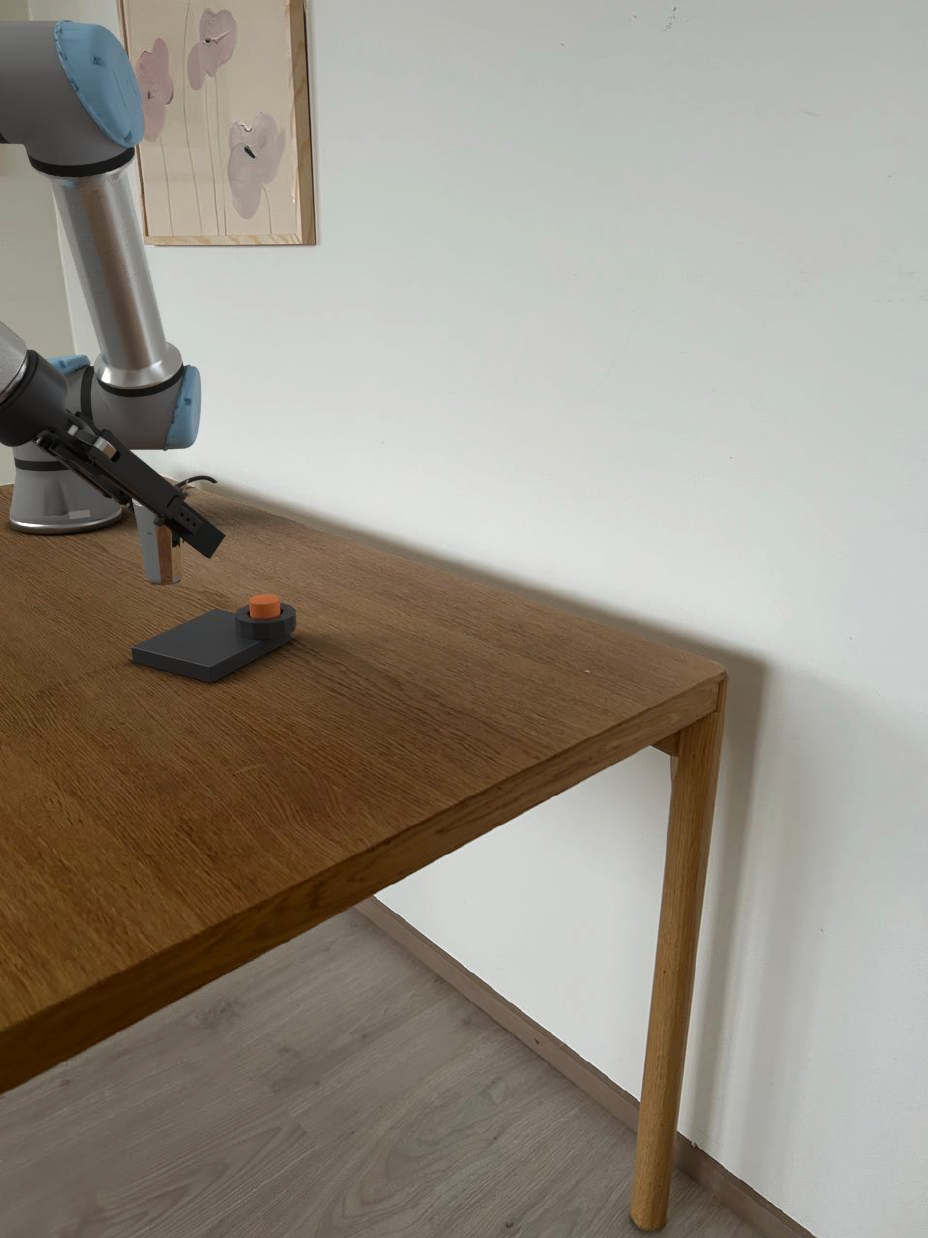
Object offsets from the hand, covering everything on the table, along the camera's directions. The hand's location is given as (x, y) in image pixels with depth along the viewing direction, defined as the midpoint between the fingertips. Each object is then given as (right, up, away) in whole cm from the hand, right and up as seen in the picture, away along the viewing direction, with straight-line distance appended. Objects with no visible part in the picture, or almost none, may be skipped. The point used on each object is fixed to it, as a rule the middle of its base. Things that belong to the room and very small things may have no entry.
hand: (200, 540), depth 92 cm
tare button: (+6, -7, +4) cm, 10 cm away
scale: (+1, -11, +3) cm, 11 cm away
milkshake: (-3, -4, -1) cm, 5 cm away
